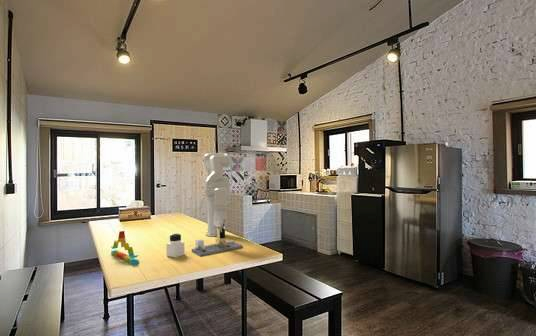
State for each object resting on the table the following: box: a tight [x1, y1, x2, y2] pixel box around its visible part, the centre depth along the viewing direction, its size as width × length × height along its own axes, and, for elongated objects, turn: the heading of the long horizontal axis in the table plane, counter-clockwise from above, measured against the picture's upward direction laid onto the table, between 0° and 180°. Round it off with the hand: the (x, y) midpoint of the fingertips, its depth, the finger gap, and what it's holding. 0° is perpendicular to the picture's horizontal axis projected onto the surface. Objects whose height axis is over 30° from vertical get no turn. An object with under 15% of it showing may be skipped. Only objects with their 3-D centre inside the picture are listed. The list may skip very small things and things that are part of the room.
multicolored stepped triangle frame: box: [110, 230, 140, 266], centre depth 167 cm, size 30×3×15 cm, turn 47°
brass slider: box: [215, 228, 227, 246], centre depth 186 cm, size 9×5×10 cm, turn 37°
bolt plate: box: [191, 239, 244, 257], centre depth 182 cm, size 12×28×6 cm, turn 127°
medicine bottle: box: [166, 233, 186, 258], centre depth 172 cm, size 7×7×12 cm
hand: (220, 237), depth 187 cm, fingers closed on brass slider, 3 cm apart
